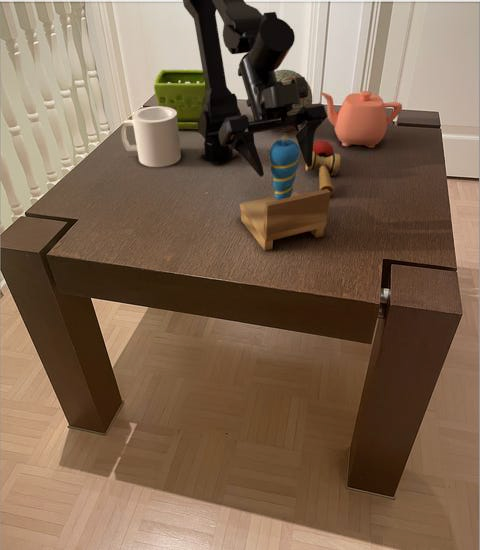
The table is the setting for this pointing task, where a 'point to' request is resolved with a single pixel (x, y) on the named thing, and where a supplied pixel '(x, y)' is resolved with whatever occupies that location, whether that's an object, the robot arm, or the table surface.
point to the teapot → (361, 118)
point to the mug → (154, 136)
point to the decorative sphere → (286, 79)
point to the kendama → (324, 164)
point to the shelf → (286, 216)
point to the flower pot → (181, 94)
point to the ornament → (284, 166)
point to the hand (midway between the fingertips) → (286, 171)
